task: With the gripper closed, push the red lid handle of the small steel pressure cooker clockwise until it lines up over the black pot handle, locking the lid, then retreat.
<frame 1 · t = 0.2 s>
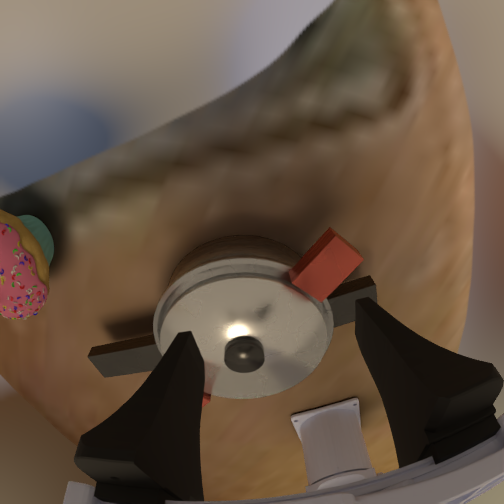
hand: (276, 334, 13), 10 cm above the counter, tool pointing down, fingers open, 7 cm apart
cupcake: (32, 240, 21), on the counter
pot: (242, 304, 25), on the counter
lid: (229, 364, 21), point 5 cm above the counter, hinge at 35.0°
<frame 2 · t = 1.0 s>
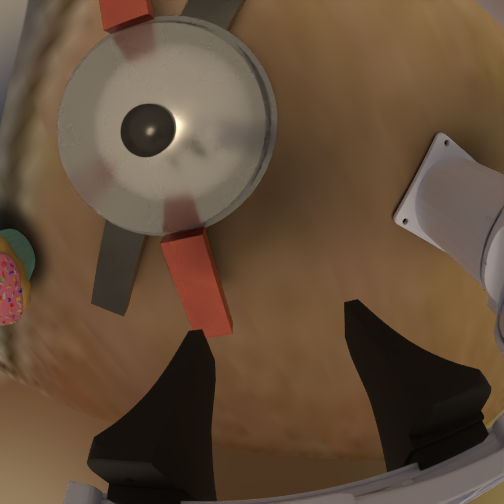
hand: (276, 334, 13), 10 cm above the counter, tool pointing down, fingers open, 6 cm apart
cupcake: (17, 252, 22), on the counter
pot: (172, 121, 19), on the counter
lid: (159, 160, 15), point 5 cm above the counter, hinge at 35.0°
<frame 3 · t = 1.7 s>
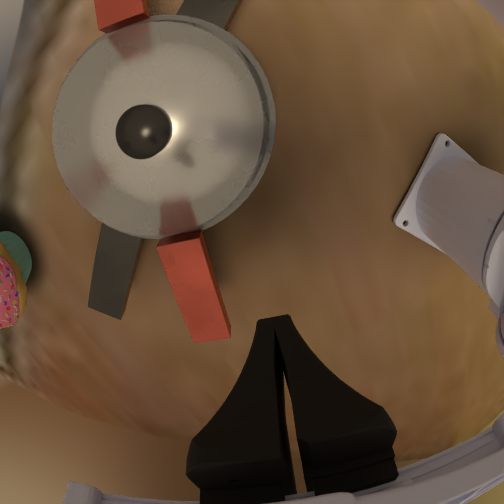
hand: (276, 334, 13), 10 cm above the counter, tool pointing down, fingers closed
cupcake: (14, 255, 22), on the counter
pot: (168, 122, 18), on the counter
lid: (155, 162, 14), point 5 cm above the counter, hinge at 35.0°
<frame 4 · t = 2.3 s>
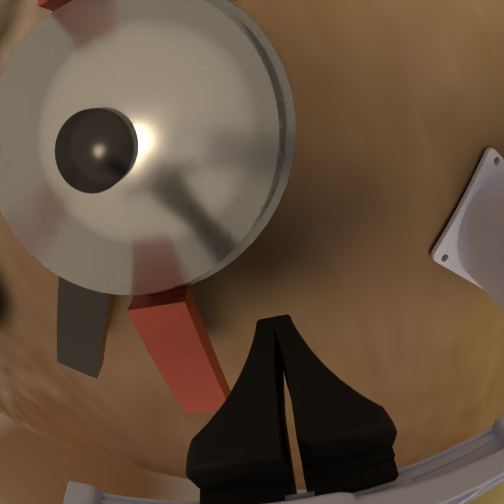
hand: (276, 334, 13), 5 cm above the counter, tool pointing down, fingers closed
pot: (144, 130, 13), on the counter
lid: (116, 195, 10), point 5 cm above the counter, hinge at 35.0°
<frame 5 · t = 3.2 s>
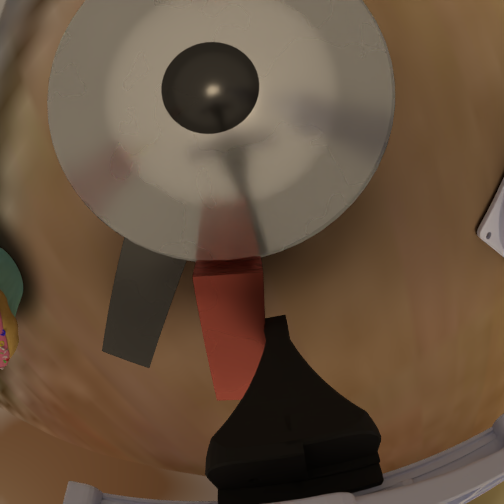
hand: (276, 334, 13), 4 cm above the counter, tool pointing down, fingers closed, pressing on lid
cupcake: (0, 273, 16), on the counter
pot: (220, 94, 13), on the counter
lid: (216, 144, 9), point 5 cm above the counter, hinge at 26.6°, touching gripper
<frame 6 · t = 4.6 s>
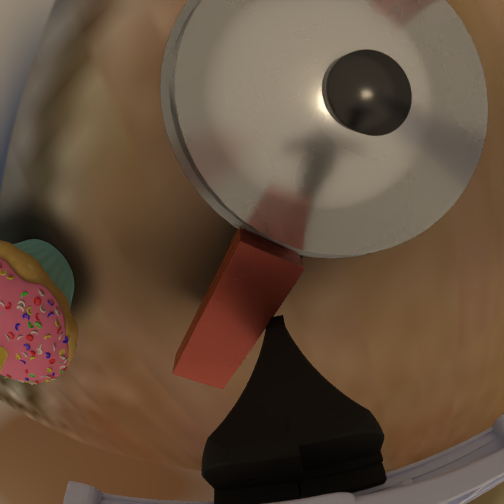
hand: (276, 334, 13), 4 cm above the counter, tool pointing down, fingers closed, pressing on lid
cupcake: (44, 273, 17), on the counter
pot: (320, 94, 13), on the counter
lid: (337, 137, 9), point 5 cm above the counter, hinge at -2.6°, touching gripper
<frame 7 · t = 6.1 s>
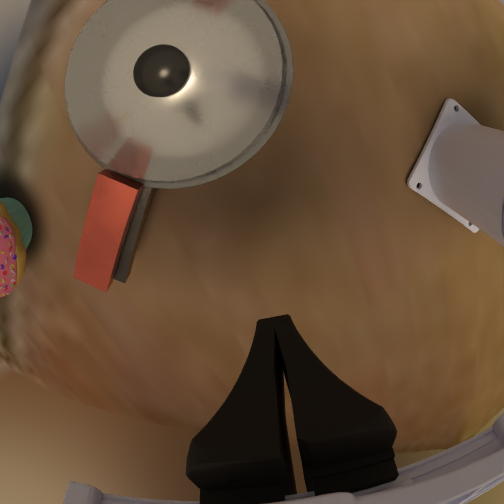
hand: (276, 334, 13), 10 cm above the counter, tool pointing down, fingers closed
cupcake: (14, 223, 21), on the counter
pot: (182, 79, 17), on the counter
lid: (149, 103, 13), point 5 cm above the counter, hinge at -3.1°
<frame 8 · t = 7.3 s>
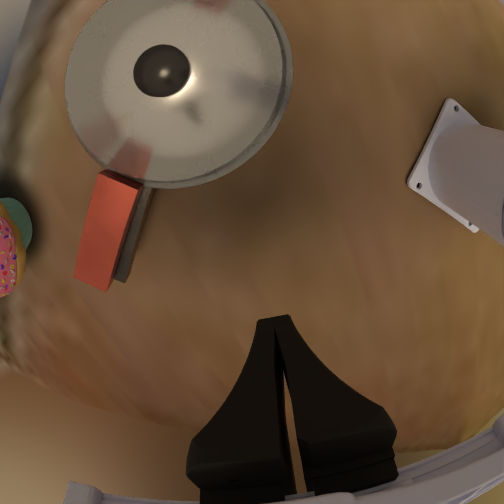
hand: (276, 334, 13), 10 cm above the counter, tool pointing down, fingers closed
cupcake: (14, 223, 21), on the counter
pot: (182, 79, 17), on the counter
lid: (149, 103, 13), point 5 cm above the counter, hinge at -3.1°
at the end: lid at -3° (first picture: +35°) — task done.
